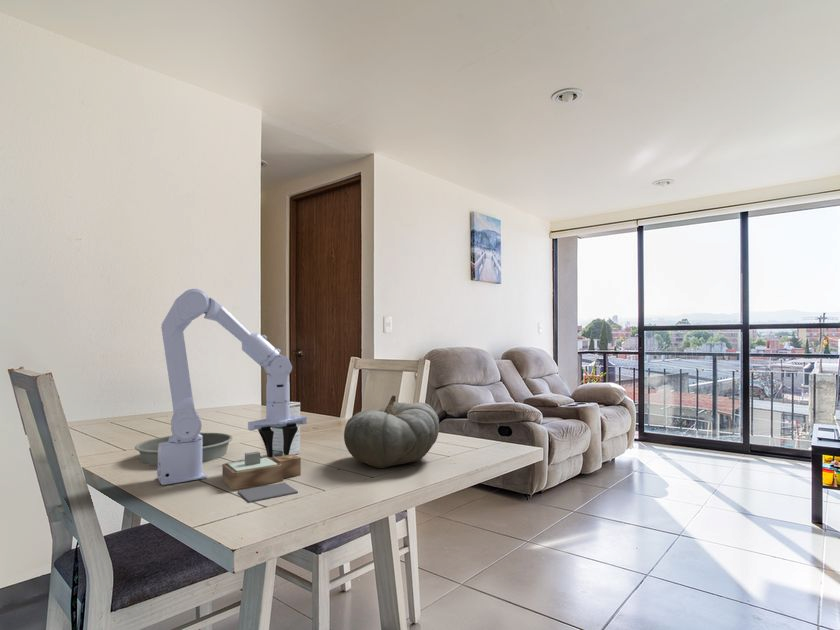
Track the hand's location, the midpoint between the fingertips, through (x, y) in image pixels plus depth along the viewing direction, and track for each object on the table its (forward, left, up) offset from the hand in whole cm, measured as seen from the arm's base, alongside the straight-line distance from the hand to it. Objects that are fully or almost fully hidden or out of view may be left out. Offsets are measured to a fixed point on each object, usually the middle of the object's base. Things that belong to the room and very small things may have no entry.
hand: (278, 455), depth 126 cm
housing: (-6, -9, -3) cm, 11 cm away
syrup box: (+6, +11, -3) cm, 13 cm away
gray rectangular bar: (0, 0, -3) cm, 3 cm away
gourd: (+25, -14, -3) cm, 29 cm away
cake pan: (-17, +27, -3) cm, 32 cm away
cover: (-9, -9, 0) cm, 13 cm away
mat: (-9, -20, -3) cm, 22 cm away
